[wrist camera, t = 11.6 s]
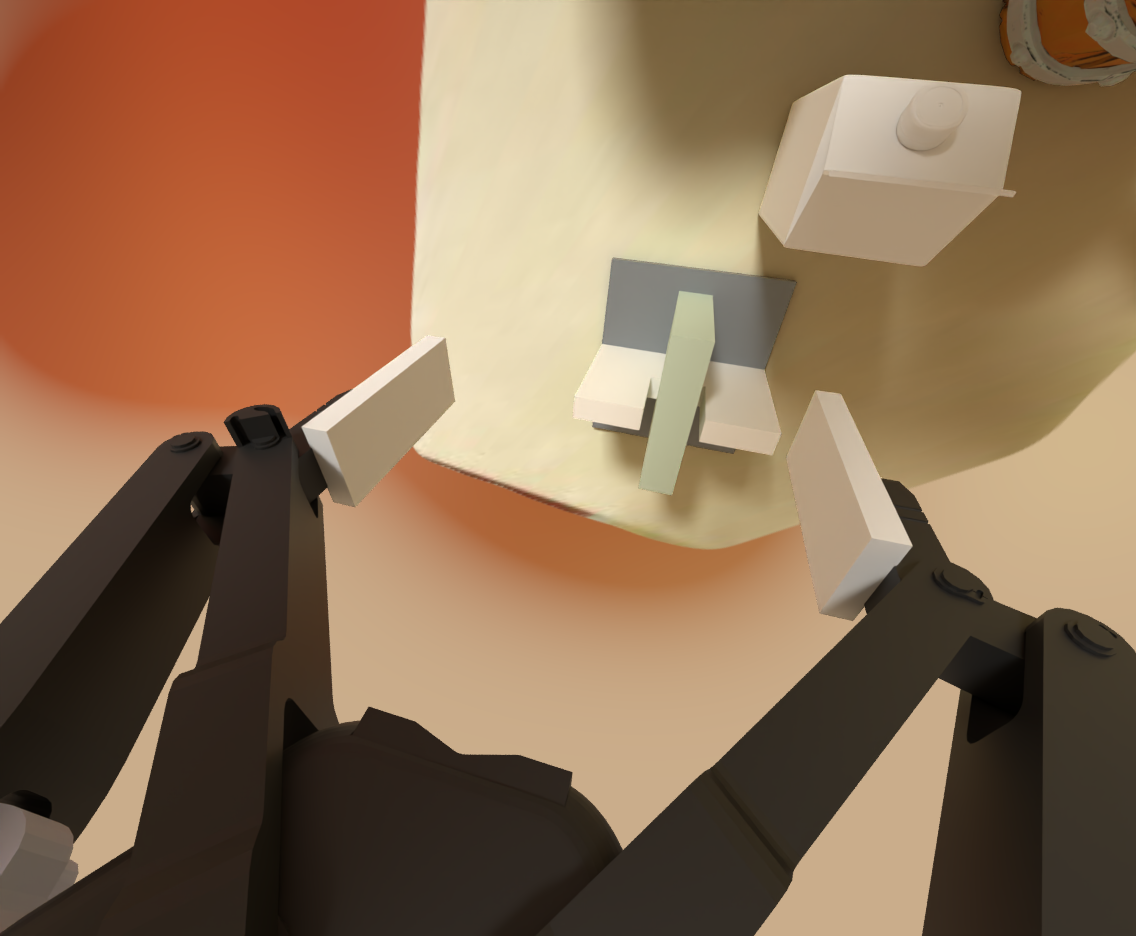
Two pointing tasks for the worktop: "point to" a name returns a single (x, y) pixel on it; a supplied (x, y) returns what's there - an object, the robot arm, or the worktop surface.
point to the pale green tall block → (678, 390)
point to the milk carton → (889, 166)
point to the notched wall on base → (639, 343)
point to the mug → (1070, 40)
